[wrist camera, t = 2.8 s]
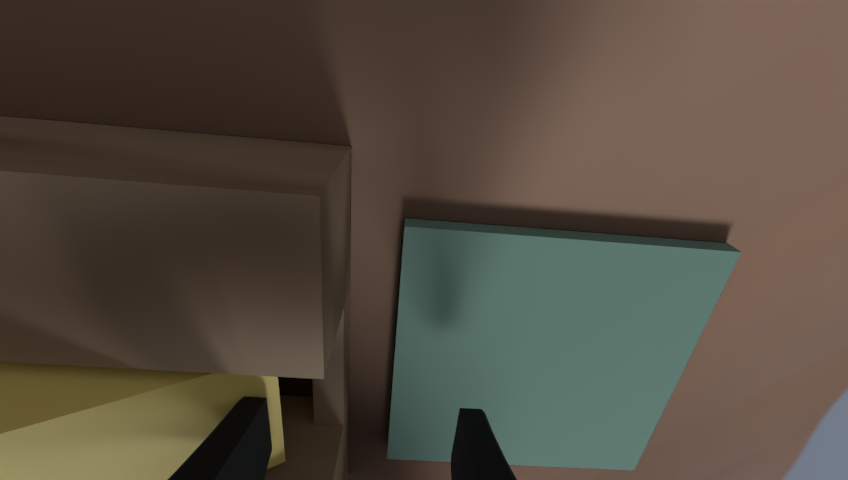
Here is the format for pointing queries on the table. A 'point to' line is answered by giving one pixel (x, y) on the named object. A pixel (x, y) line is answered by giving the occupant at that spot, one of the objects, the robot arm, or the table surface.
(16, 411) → the slab
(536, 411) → the mat
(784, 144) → the table surface
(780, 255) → the table surface
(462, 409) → the robot arm
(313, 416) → the pocket board
